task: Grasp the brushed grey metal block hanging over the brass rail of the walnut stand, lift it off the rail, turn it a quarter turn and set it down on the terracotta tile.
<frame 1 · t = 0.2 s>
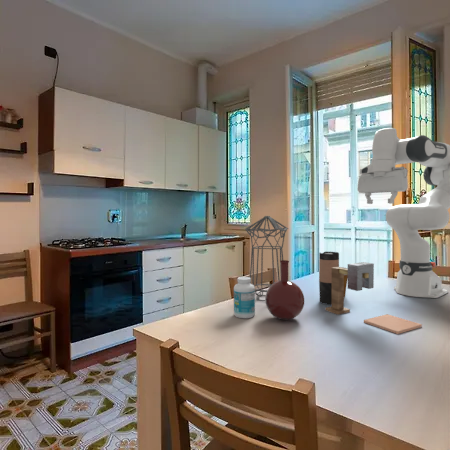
hand: (379, 203, 133), 39 cm above the table, tool pointing down, fingers open, 8 cm apart
tile: (392, 324, 108), on the table
brushed grey metal block: (360, 288, 113), point 10 cm above the table, touching stand
stand: (337, 311, 122), on the table
travel mug: (329, 302, 134), on the table
pill bottle: (244, 316, 119), on the table
geometric lantern: (267, 298, 142), on the table
disposable coffee cup: (337, 296, 143), on the table
round-bottom flask: (284, 319, 115), on the table
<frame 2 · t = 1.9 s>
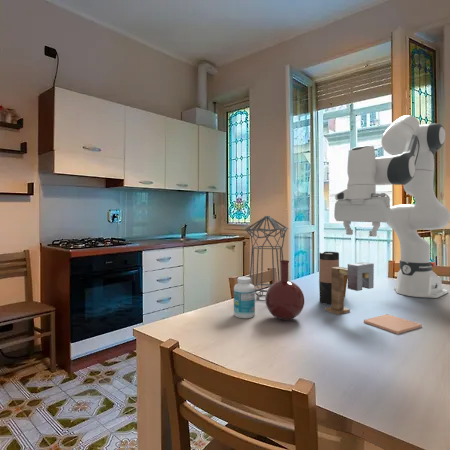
hand: (360, 235, 112), 28 cm above the table, tool pointing down, fingers open, 8 cm apart
nothing on the table moved.
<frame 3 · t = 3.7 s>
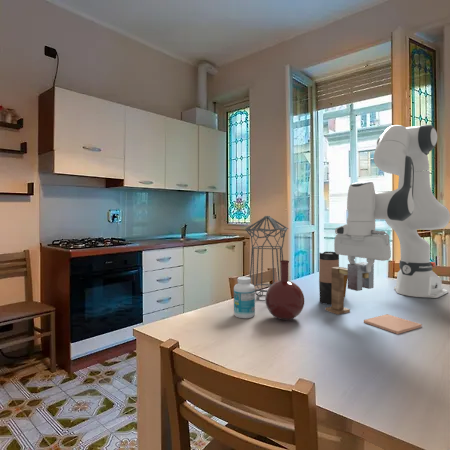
hand: (360, 270, 113), 17 cm above the table, tool pointing down, fingers closed on brushed grey metal block, 4 cm apart
brushed grey metal block: (360, 288, 113), point 10 cm above the table, touching gripper, stand
everything else where it was.
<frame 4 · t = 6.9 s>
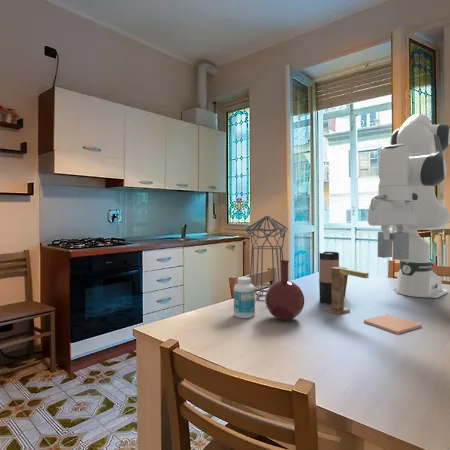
hand: (393, 239, 106), 28 cm above the table, tool pointing down, fingers closed on brushed grey metal block, 4 cm apart
brushed grey metal block: (392, 257, 107), point 22 cm above the table, touching gripper
everything else where it was.
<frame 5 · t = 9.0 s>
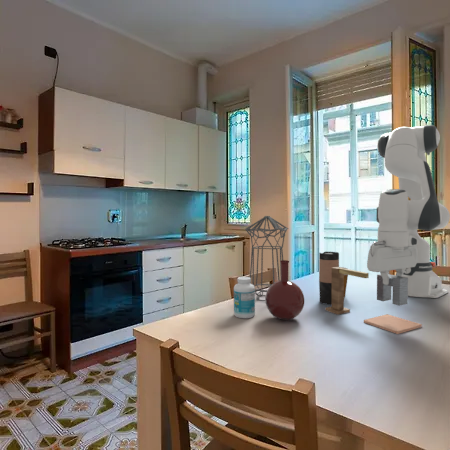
hand: (392, 283, 107), 13 cm above the table, tool pointing down, fingers closed on brushed grey metal block, 4 cm apart
brushed grey metal block: (391, 301, 107), point 7 cm above the table, touching gripper
everything else where it was.
when the fingers open (8 cm above the table, at t = 10.6 s): brushed grey metal block stays where it is, resting on tile.
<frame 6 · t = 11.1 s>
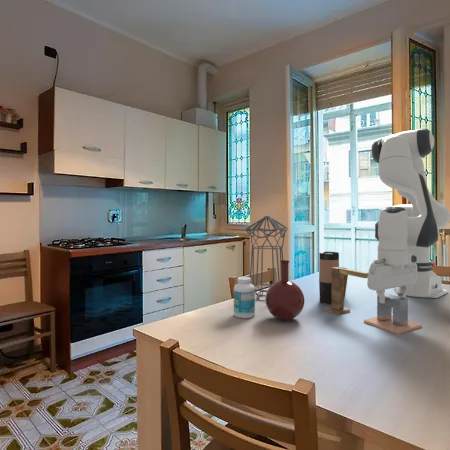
hand: (392, 300, 107), 8 cm above the table, tool pointing down, fingers open, 8 cm apart
brushed grey metal block: (392, 322, 108), point 1 cm above the table, touching tile
everything else where it was.
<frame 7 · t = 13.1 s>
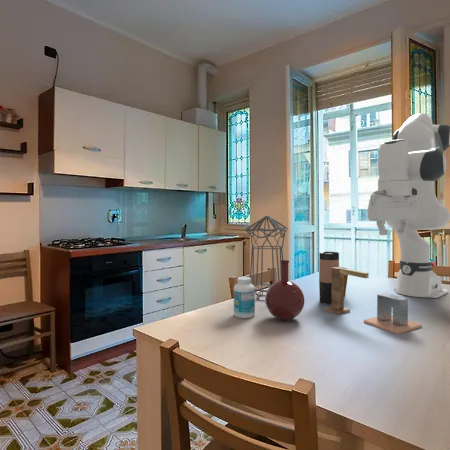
hand: (392, 234, 107), 29 cm above the table, tool pointing down, fingers open, 8 cm apart
nothing on the table moved.
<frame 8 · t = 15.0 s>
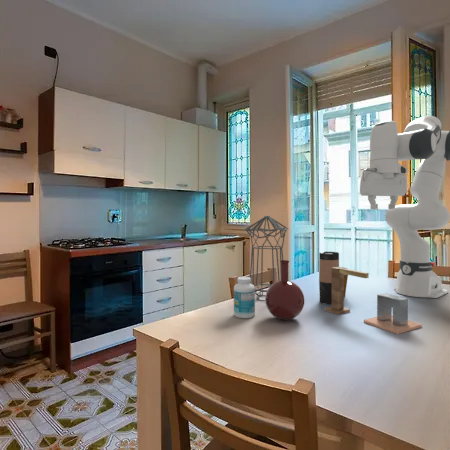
hand: (383, 209, 116), 37 cm above the table, tool pointing down, fingers open, 8 cm apart
nothing on the table moved.
at the end: brushed grey metal block inside the target area on the tile (0.1 cm from its centre), point 0.8 cm above the tile's base; brushed grey metal block touching tile; the gripper is holding nothing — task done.
